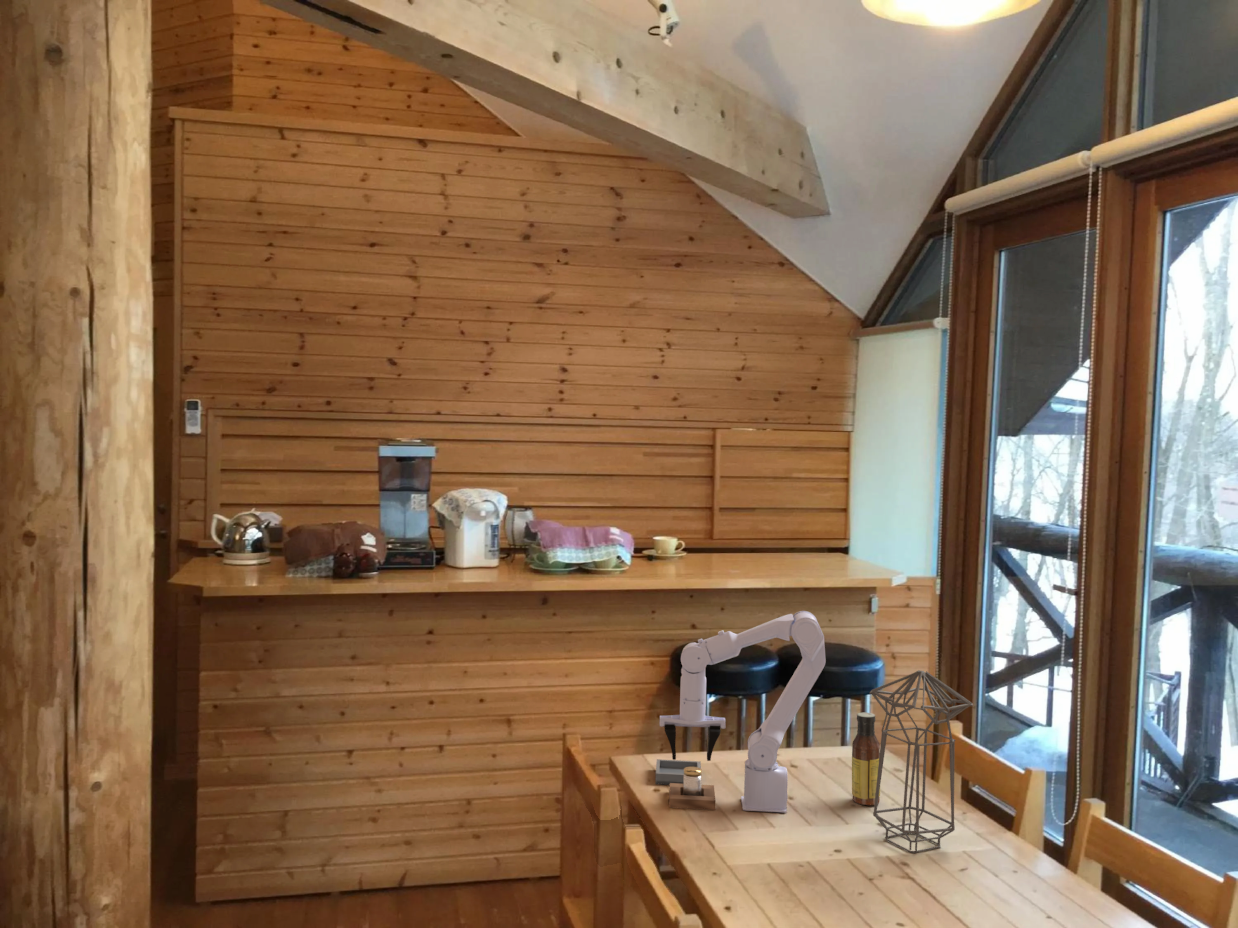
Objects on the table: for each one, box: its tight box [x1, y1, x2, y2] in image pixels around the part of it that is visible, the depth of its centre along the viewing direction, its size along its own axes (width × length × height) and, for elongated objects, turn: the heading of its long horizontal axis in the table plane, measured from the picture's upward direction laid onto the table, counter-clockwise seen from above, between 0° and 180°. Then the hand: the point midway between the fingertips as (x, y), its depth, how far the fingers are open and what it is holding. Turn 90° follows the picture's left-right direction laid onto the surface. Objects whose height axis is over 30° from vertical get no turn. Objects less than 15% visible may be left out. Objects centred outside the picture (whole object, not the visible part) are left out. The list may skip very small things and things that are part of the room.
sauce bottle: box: [851, 711, 881, 807], centre depth 228 cm, size 6×6×20 cm
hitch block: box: [668, 783, 717, 811], centre depth 225 cm, size 10×10×2 cm
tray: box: [655, 758, 702, 786], centre depth 240 cm, size 11×11×2 cm
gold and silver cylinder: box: [683, 767, 703, 796], centre depth 225 cm, size 4×4×7 cm
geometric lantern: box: [869, 669, 974, 854], centre depth 205 cm, size 16×16×35 cm
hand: (691, 758), depth 225 cm, fingers open, 7 cm apart
